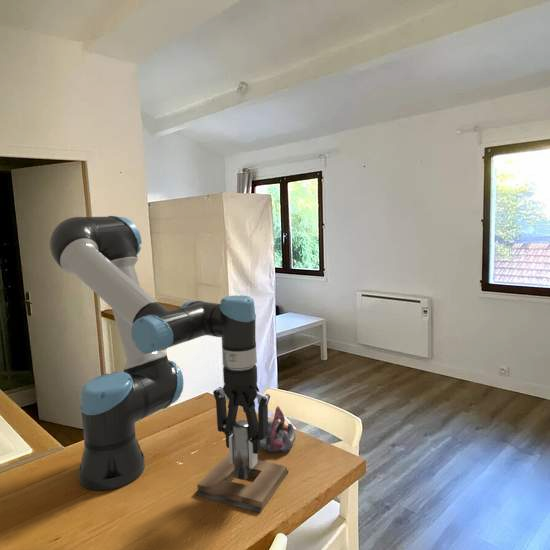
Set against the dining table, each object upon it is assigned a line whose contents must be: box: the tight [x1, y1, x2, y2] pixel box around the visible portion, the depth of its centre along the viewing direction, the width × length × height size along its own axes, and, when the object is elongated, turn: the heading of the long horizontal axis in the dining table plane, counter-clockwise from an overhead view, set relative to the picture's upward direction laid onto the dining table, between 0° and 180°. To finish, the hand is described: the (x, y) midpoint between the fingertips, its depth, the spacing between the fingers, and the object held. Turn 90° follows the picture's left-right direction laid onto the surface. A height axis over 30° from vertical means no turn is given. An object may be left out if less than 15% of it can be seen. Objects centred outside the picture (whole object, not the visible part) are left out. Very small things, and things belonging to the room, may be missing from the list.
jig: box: [195, 452, 289, 514], centre depth 100 cm, size 16×16×2 cm
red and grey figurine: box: [260, 405, 297, 453], centre depth 117 cm, size 11×11×12 cm
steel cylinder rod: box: [232, 419, 253, 480], centre depth 99 cm, size 4×4×12 cm
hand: (243, 462), depth 100 cm, fingers closed on steel cylinder rod, 4 cm apart
